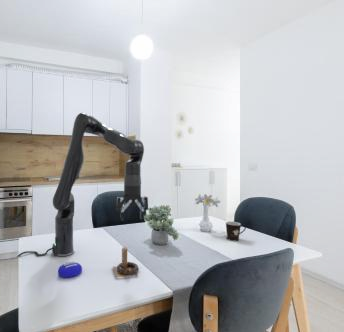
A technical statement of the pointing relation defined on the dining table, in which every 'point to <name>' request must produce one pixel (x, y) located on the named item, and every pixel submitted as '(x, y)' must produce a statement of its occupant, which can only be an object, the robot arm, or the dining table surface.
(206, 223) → the flower vase
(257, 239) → the dining table surface
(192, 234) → the dining table surface
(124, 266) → the post
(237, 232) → the coffee mug
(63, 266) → the decorative object
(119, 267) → the ring
